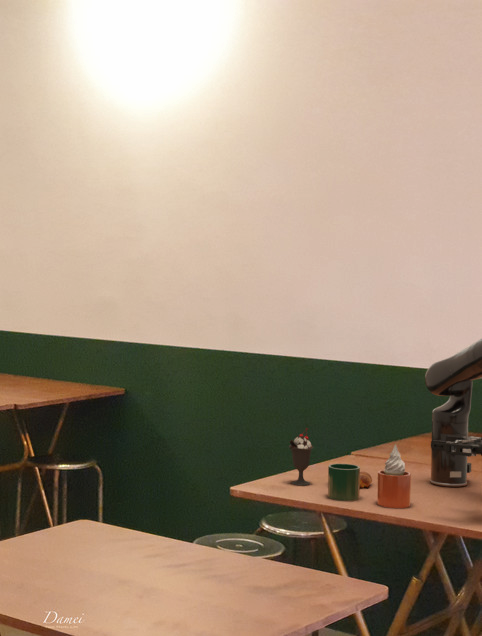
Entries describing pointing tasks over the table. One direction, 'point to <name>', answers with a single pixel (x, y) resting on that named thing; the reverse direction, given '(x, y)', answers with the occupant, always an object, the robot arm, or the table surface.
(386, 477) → the cup
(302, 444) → the sundae
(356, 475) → the stand
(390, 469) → the ice cream cone
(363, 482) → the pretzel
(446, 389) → the robot arm
